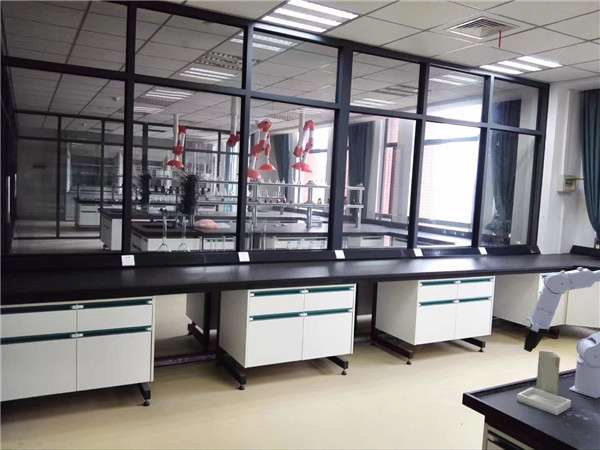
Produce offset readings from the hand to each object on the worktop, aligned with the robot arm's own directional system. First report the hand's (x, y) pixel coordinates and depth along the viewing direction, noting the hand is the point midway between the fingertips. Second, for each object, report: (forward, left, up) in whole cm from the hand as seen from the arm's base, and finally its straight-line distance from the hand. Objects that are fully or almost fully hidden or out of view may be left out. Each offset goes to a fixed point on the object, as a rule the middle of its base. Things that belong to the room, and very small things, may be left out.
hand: (529, 348), depth 157 cm
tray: (+13, +11, -11) cm, 20 cm away
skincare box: (+4, +8, -11) cm, 14 cm away
